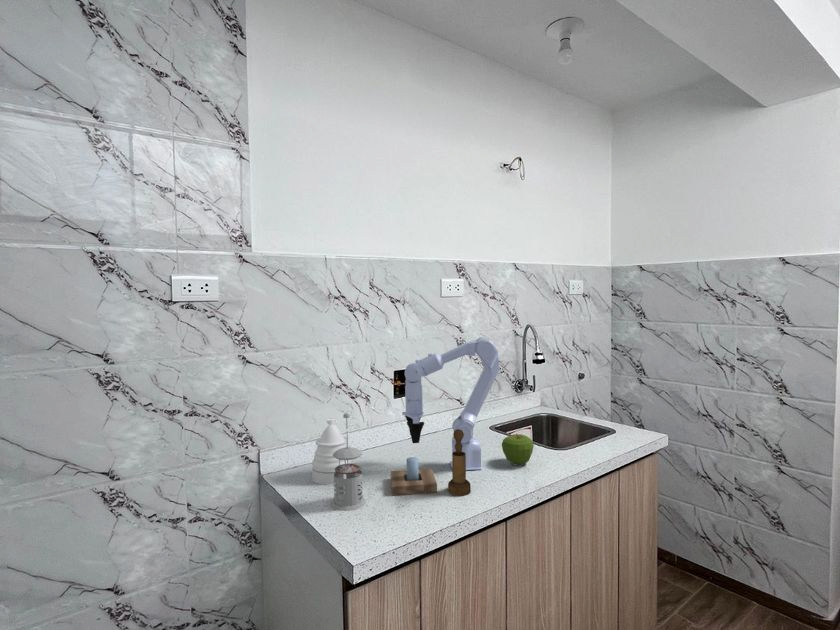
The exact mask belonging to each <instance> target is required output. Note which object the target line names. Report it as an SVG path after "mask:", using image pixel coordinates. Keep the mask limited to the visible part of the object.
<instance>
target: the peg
mask: <svg viewBox="0 0 840 630" xmlns="http://www.w3.org/2000/svg"><path fill="white" fill-rule="evenodd" d="M405 462H406V463H405V464H406V470H407V481H418V480H419V470H420V469H419V458H418V457H414V456H411V457H410V456H409V457H408V458H407V457H406V461H405Z"/></svg>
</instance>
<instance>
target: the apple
mask: <svg viewBox="0 0 840 630" xmlns="http://www.w3.org/2000/svg"><path fill="white" fill-rule="evenodd" d="M534 446H535V445H534V442H533V440H532V438H530V437H529V436H527V435H524V434H512V435H508V436H506V437H504V438H503V440H502V442H501V447H502V448H501V449H502V452H503V454H504V456H505V458H506V460H507V461H508V462H510V463H511V464H512V465H513V466H524V465H525V464H527V463H528V462H529V461H530V459H531V456H532V454H533V451H534Z"/></svg>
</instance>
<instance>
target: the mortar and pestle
mask: <svg viewBox="0 0 840 630" xmlns="http://www.w3.org/2000/svg"><path fill="white" fill-rule="evenodd" d="M452 434H453V436H452V437H454V438H455V440H456V445H455V449H456V451H455V452H453V453H452V452H451V459H452V460H451V461H452V467H451V469H452V479H451V480H450V481H449V482H448V483H447V485H448V486H447V487H448V488H447V491H448V493H449V494H450V495H453V496H456V497H463V496H467V495H469V494H470V493H471V490H472V488H471V487H472V486H471V483H470V481H468V479H467V476H466V475H467V470H466V454H465V453H464V452H462V447H463V445H461V440H462V439H463V436H464V433H463V431H462V430H460V429H457V430H455V431H454V430H453V433H452Z"/></svg>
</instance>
